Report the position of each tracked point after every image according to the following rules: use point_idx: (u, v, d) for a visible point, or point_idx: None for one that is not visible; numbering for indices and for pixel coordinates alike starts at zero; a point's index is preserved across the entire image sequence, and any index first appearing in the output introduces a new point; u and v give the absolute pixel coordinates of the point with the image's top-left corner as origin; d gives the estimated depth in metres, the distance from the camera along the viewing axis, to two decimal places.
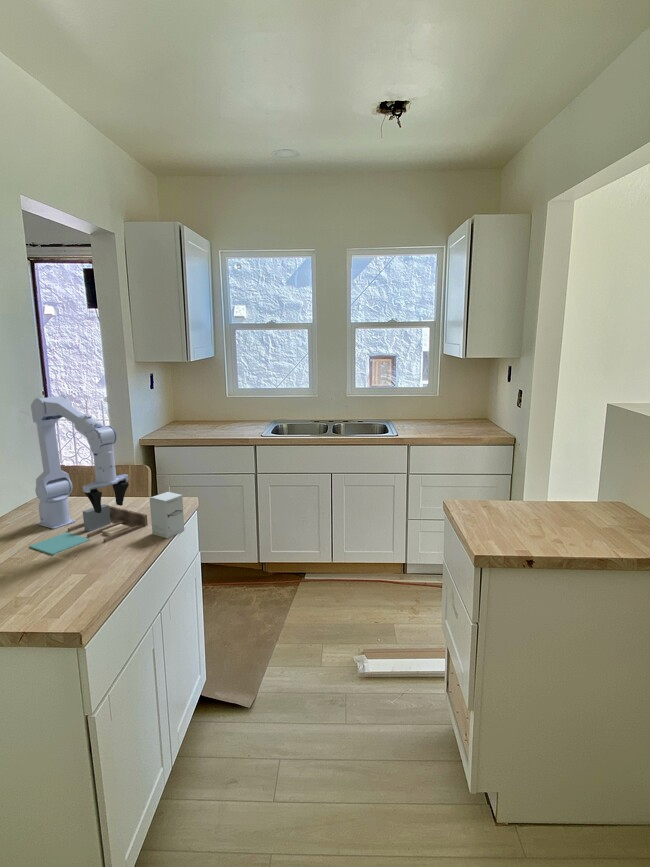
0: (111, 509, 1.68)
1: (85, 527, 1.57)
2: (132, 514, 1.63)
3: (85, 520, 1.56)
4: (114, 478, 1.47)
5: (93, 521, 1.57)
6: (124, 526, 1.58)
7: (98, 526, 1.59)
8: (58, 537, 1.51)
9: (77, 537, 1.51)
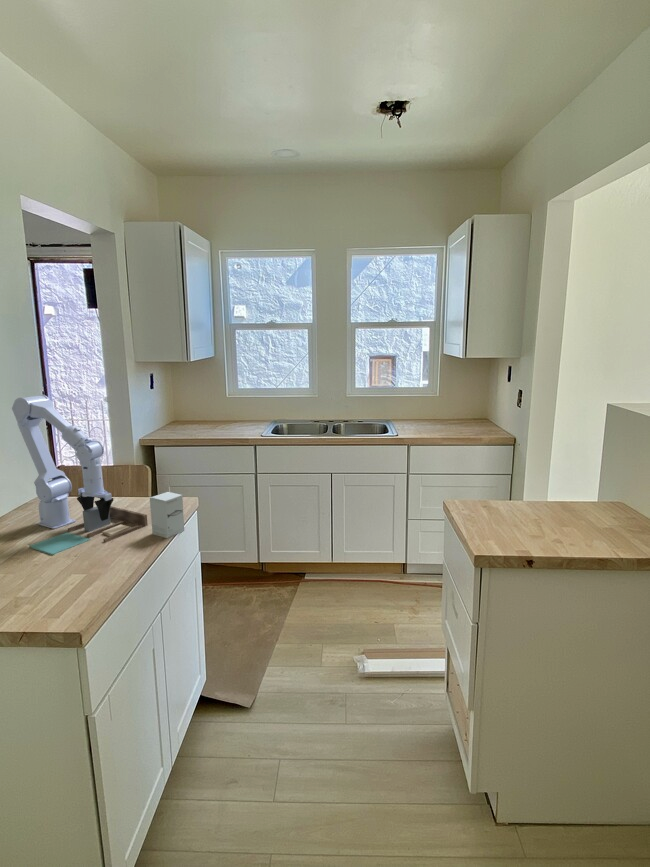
0: (111, 509, 1.68)
1: (85, 527, 1.57)
2: (132, 514, 1.63)
3: (85, 520, 1.56)
4: (88, 492, 1.55)
5: (93, 521, 1.57)
6: (124, 526, 1.58)
7: (98, 526, 1.59)
8: (58, 537, 1.51)
9: (77, 537, 1.51)
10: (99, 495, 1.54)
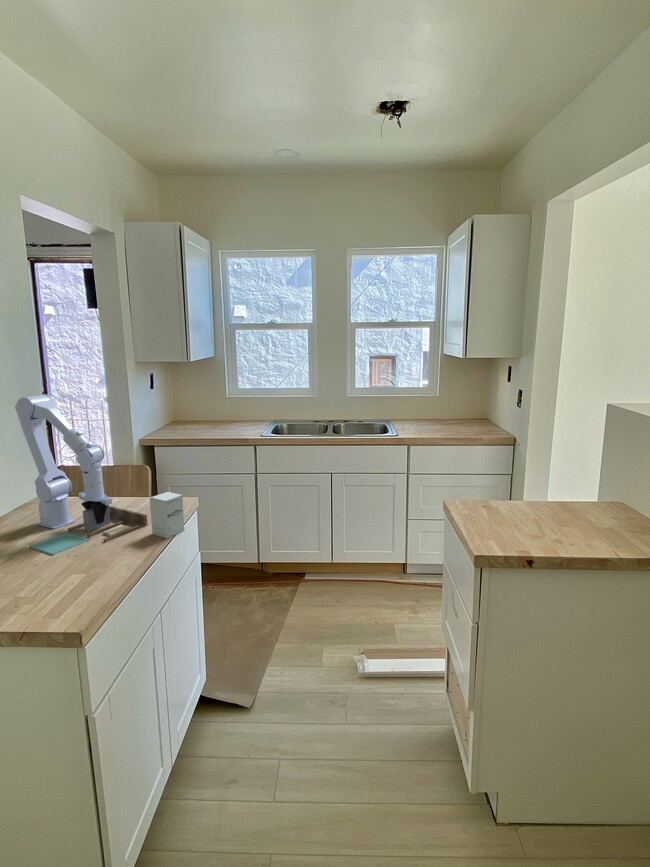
0: (111, 509, 1.68)
1: (85, 527, 1.57)
2: (132, 514, 1.63)
3: (85, 520, 1.56)
4: (89, 496, 1.55)
5: (93, 521, 1.57)
6: (125, 527, 1.58)
7: (98, 526, 1.59)
8: (58, 537, 1.51)
9: (77, 537, 1.51)
10: (99, 500, 1.55)
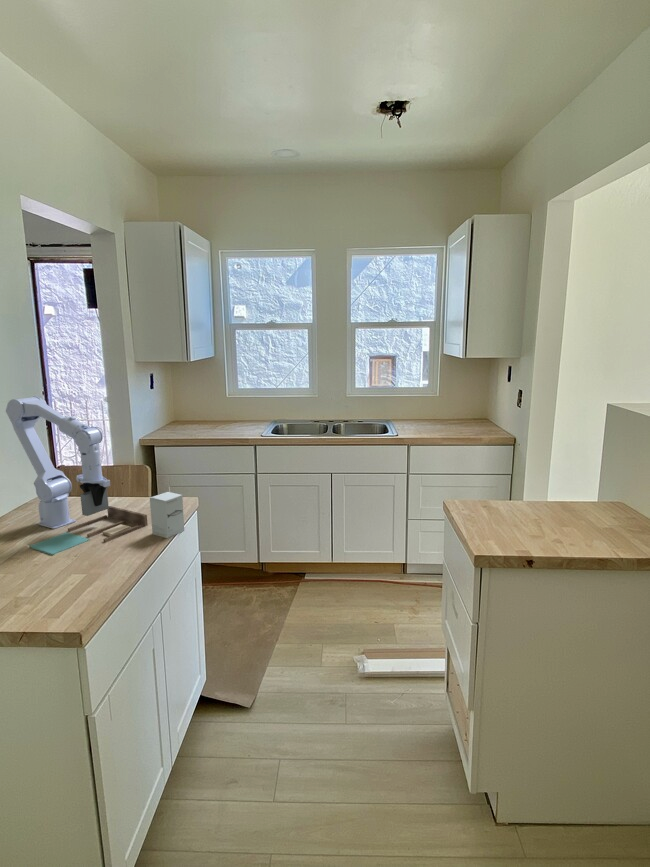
0: (111, 509, 1.68)
1: (83, 510, 1.56)
2: (132, 514, 1.63)
3: (83, 503, 1.55)
4: (87, 478, 1.54)
5: (91, 504, 1.56)
6: (125, 526, 1.58)
7: (96, 509, 1.58)
8: (58, 537, 1.51)
9: (77, 537, 1.51)
10: (97, 481, 1.54)
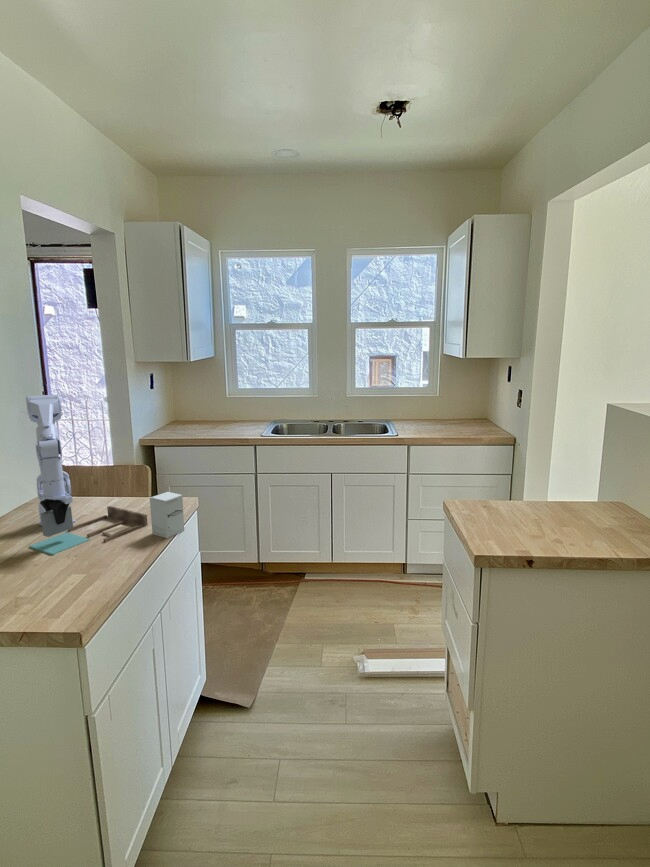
0: (111, 509, 1.68)
1: (43, 531, 1.43)
2: (132, 514, 1.63)
3: (43, 523, 1.43)
4: (47, 494, 1.42)
5: (52, 524, 1.44)
6: (124, 527, 1.58)
7: (58, 529, 1.45)
8: (58, 537, 1.51)
9: (77, 537, 1.51)
10: (59, 498, 1.41)
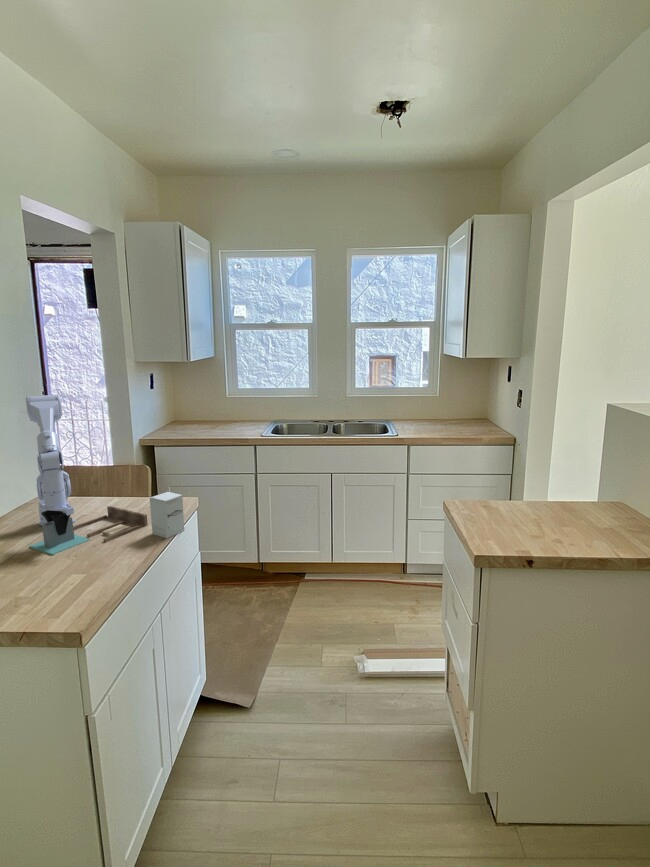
0: (111, 509, 1.68)
1: (45, 542, 1.44)
2: (132, 514, 1.63)
3: (45, 534, 1.43)
4: (48, 505, 1.42)
5: (54, 535, 1.44)
6: (124, 526, 1.58)
7: (60, 540, 1.46)
8: None
9: (77, 537, 1.51)
10: (60, 509, 1.42)
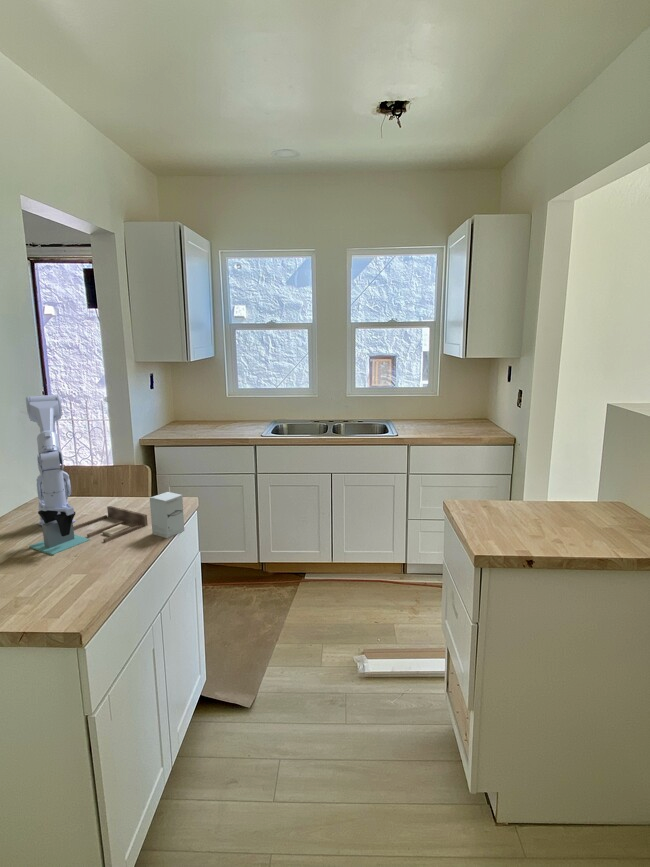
0: (111, 509, 1.68)
1: (45, 542, 1.44)
2: (132, 514, 1.63)
3: (45, 534, 1.43)
4: (48, 505, 1.42)
5: (54, 535, 1.44)
6: (124, 526, 1.58)
7: (60, 540, 1.46)
8: None
9: (77, 537, 1.51)
10: (60, 509, 1.42)
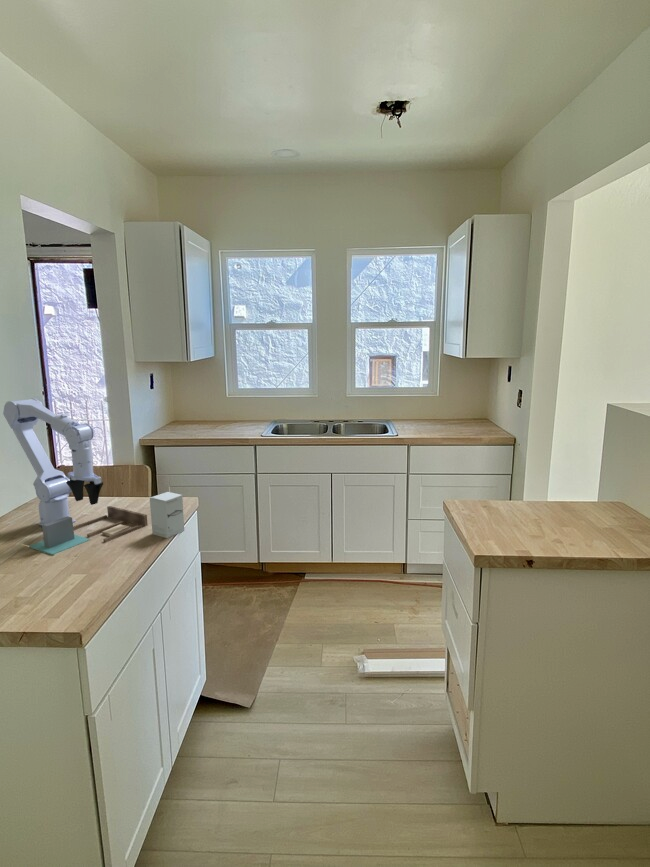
0: (111, 509, 1.68)
1: (45, 542, 1.44)
2: (132, 514, 1.63)
3: (45, 534, 1.43)
4: (78, 475, 1.53)
5: (54, 535, 1.44)
6: (124, 526, 1.58)
7: (60, 540, 1.46)
8: None
9: (77, 537, 1.51)
10: (88, 478, 1.52)
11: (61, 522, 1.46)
